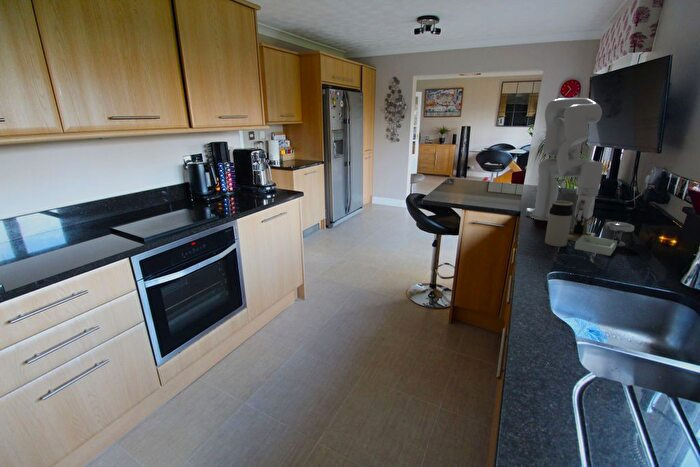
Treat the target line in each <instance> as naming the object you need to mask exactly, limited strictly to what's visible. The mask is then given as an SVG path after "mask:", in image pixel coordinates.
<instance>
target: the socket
mask: <svg viewBox="0 0 700 467" xmlns="http://www.w3.org/2000/svg"><path fill="white" fill-rule="evenodd" d="M572 231H573V229H569V235H568V240H567V241H572V242H576V241H577V240H578V239H579V238H580V237H578V236H573V235H571V233H572ZM587 236H593V237H596V233H594V232H588V231H587ZM585 241H586V242H588V241H587V240H586V239H585ZM589 242H590V239H589Z"/></svg>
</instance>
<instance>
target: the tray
mask: <svg viewBox="0 0 700 467" xmlns="http://www.w3.org/2000/svg"><path fill="white" fill-rule="evenodd" d="M585 239H586V240H587V241H588V242H586V241H585ZM589 239H590V242H589ZM616 245H617V241H616V240H613V239H609V238H605V237H604V238H603V237H598V236H595V237H593V236H587V235H582V236H581V237H580V238H579V239H578V240H577V241H575V244H574V249H575V250H580V251H584V252H589V253H594V254H599V255H604V256H612V254H613V253H614V251H615V249H616V248H617V246H616Z"/></svg>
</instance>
